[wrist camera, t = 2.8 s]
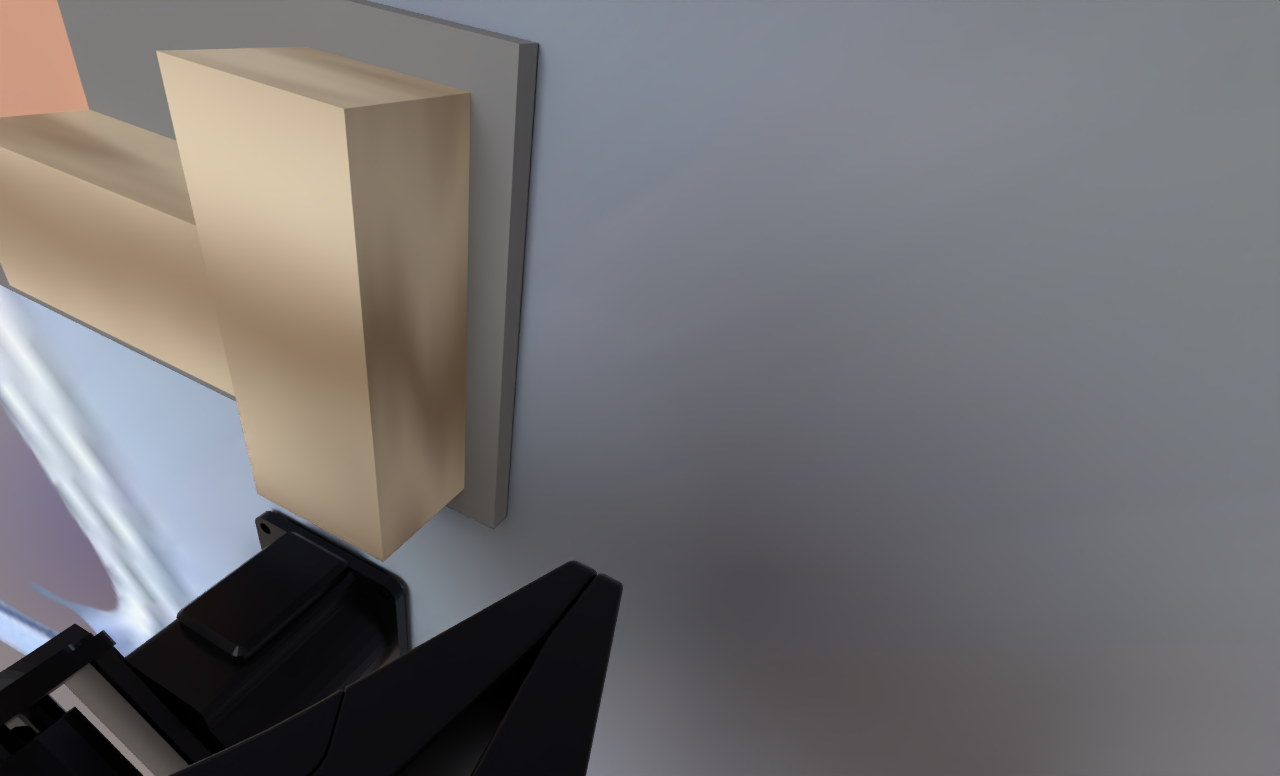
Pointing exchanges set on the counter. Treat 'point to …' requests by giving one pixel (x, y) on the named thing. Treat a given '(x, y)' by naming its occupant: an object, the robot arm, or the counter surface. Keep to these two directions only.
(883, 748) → the counter surface
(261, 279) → the t block
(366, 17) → the mat
